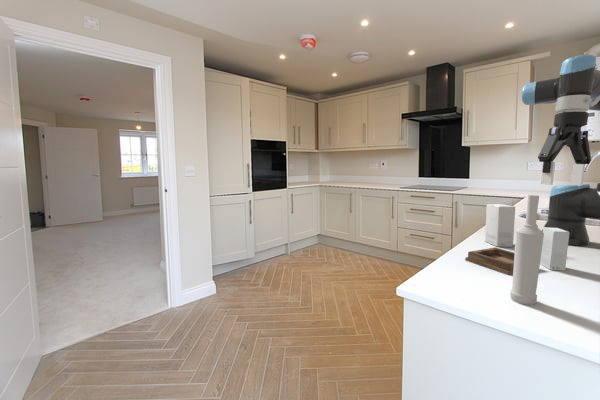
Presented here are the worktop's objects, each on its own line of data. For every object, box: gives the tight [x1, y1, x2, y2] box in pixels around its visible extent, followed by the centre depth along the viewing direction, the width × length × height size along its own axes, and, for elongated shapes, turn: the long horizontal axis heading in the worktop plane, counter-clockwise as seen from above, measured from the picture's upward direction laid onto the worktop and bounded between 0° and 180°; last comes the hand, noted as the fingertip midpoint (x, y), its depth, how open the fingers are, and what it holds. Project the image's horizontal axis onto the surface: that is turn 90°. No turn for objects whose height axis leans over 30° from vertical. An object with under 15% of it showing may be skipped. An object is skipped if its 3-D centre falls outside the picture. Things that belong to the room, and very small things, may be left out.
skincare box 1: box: [484, 203, 516, 248], centre depth 120 cm, size 8×7×16 cm
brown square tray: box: [464, 247, 515, 276], centre depth 98 cm, size 14×14×3 cm
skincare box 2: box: [540, 226, 570, 272], centre depth 95 cm, size 6×4×12 cm
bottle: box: [509, 194, 544, 306], centre depth 72 cm, size 5×5×25 cm
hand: (561, 185), depth 93 cm, fingers open, 13 cm apart
